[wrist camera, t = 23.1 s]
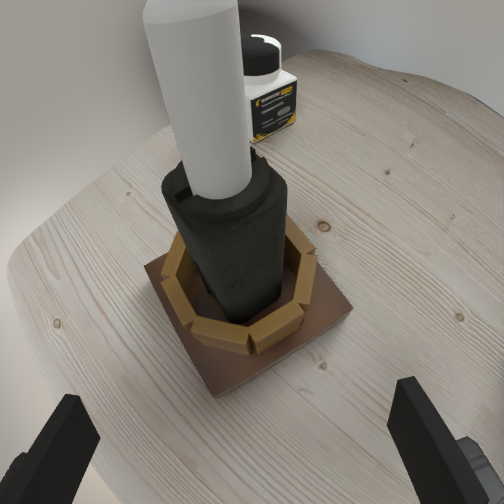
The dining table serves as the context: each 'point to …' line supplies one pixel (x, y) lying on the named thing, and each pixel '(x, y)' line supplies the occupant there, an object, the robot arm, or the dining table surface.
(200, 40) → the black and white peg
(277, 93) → the medicine bottle
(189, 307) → the stand
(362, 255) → the dining table surface
